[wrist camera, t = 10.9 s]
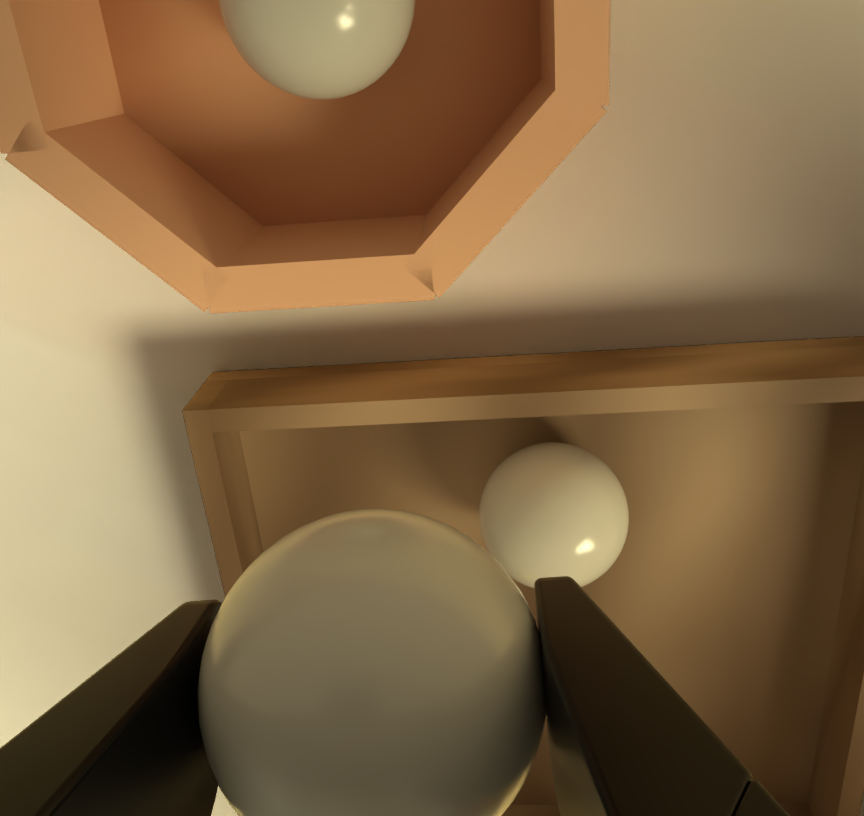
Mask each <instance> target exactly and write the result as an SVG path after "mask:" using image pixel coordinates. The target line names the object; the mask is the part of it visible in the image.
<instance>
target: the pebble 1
mask: <svg viewBox="0 0 864 816" xmlns="http://www.w3.org/2000/svg"><path fill="white" fill-rule="evenodd" d="M219 5H220V10H221V14H222V18H223V21H224V24H225V26H226V29H227V32H228V34H229V36H230V38H231V40H232V42H233V44H234V45H235V47H236V48H237V50H238V52H239V53H240V55H241V56H242V57H243V59H244V60H245V61H246V62H247V63H248V65H249V66H250V67H251V68H252V69H253V70H254V71H255V72H256V73H257V74H258V75H260V76H261V77H262V78H264V79H265V80H266V81H268V82H269V83H270V84H272V85H274V86H275V87H277V88H279V89H281V90H283V91H285V92H288V93H290V94H293V95H296V96H300V97H304V98H310V99H335V98H341V97H345V96H348V95H351V94H354V93H356V92H359V91H361V90H363V89H365V88H366V87H368V86H369V85H371V84H372V83H374V82H375V81H377V80H378V79H379V78H380V77H381V76H382V75H383V74H385V73H386V71H387V70H388V69H389V68H390V67H391V66H392V65H393V63H394V62H395V60H396V59H397V57H398V56H399V54H400V53H401V51H402V49H403V47H404V45H405V43H406V41H407V38H408V35H409V32H410V29H411V25H412V20H413V16H414V7H415V0H219Z"/></svg>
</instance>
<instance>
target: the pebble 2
mask: <svg viewBox="0 0 864 816" xmlns="http://www.w3.org/2000/svg"><path fill="white" fill-rule="evenodd" d="M198 712H199V726H200V731H201V735H202V739H203V743H204V748H205V752H206V756H207V760H208V762H209V764H210V767H211V769H212V772H213V774H214V776H215V778H216V781H217V783H218V785H219V787H220V789H221V791H222V793H223V794H224V796H225V798H226V799H227V801H228V802H229V804H230V805H231V806H232V808H233V809H234V810H235V812H236V813H237V814H238V816H501V815H502V814H503V813H504V812H505V811H506V809H507V808H508V807H509V806H510V805H511V803H512V802H513V801H514V799H515V798H516V796H517V794H518V792H519V791H520V789H521V787H522V786H523V784H524V782H525V780H526V778H527V776H528V775H529V773H530V771H531V768H532V766H533V763H534V760H535V758H536V755H537V752H538V749H539V746H540V743H541V740H542V735H543V730H544V725H545V719H546V712H547V708H546V693H545V681H544V670H543V660H542V650H541V641H540V634H539V630H538V627H537V624H536V621H535V619H534V616H533V614H532V612H531V610H530V607H529V605H528V603H527V602H526V600H525V598H524V596H523V594H522V592H521V591H520V589H519V588H518V586H517V585H516V584H515V582H514V581H513V579H512V578H511V577H510V575H509V574H508V573H507V571H506V570H505V568H504V567H503V566H502V565H501V564H500V563H499V562H498V561H497V560H496V559H495V558H494V557H493V556H492V555H491V554H490V553H489V552H488V551H486V550H485V549H484V548H483V547H481V546H480V545H479V544H478V543H476V542H475V541H474V540H473V539H471V538H470V537H469V536H467V535H465V534H464V533H462V532H460V531H459V530H457V529H455V528H454V527H451V526H449V525H447V524H445V523H443V522H441V521H438V520H436V519H432V518H429V517H426V516H423V515H420V514H416V513H411V512H406V511H401V510H390V509H361V510H354V511H346V512H342V513H338V514H334V515H330V516H326V517H324V518H321V519H319V520H316V521H314V522H311V523H309V524H306V525H304V526H302V527H300V528H298V529H296V530H294V531H293V532H291V533H289V534H287V535H285V536H284V537H283V538H281V539H280V540H279V541H277V542H276V543H275V544H273V545H272V546H271V547H269V548H268V549H267V550H265V551H264V552H263V553H262V554H261V555H260V556H259V557H258V558H256V559H255V560H254V561H253V562H252V563H251V564H250V565H249V566H248V568H247V569H246V570H245V571H244V572H243V574H242V575H241V576H240V577H239V579H238V580H237V581H236V583H235V584H234V585H233V587H232V588H231V590H230V591H229V592H228V594H227V596H226V598H225V599H224V601H223V603H222V605H221V607H220V609H219V611H218V613H217V615H216V617H215V619H214V621H213V623H212V626H211V629H210V632H209V635H208V638H207V641H206V644H205V648H204V651H203V654H202V659H201V667H200V674H199V683H198Z"/></svg>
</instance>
